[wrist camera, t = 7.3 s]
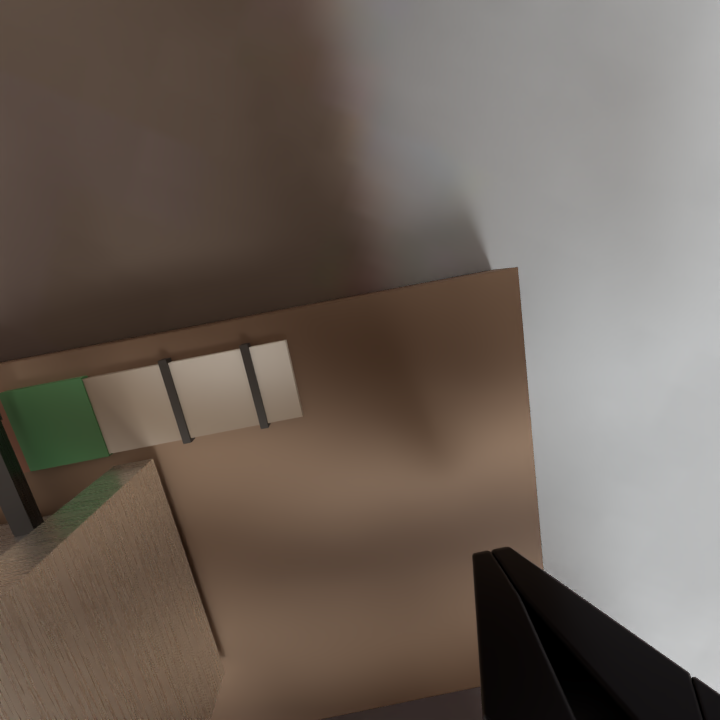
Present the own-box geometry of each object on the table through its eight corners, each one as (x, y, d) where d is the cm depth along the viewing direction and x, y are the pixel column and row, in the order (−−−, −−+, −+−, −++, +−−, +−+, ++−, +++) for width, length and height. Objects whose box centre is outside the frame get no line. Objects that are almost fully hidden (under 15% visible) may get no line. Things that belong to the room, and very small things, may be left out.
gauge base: (528, 628, 13) (707, 954, 7) (-126, 762, 13) (-596, 1241, 6) (492, 269, 10) (740, 244, 4) (-345, 427, 10) (-1567, 680, 4)
